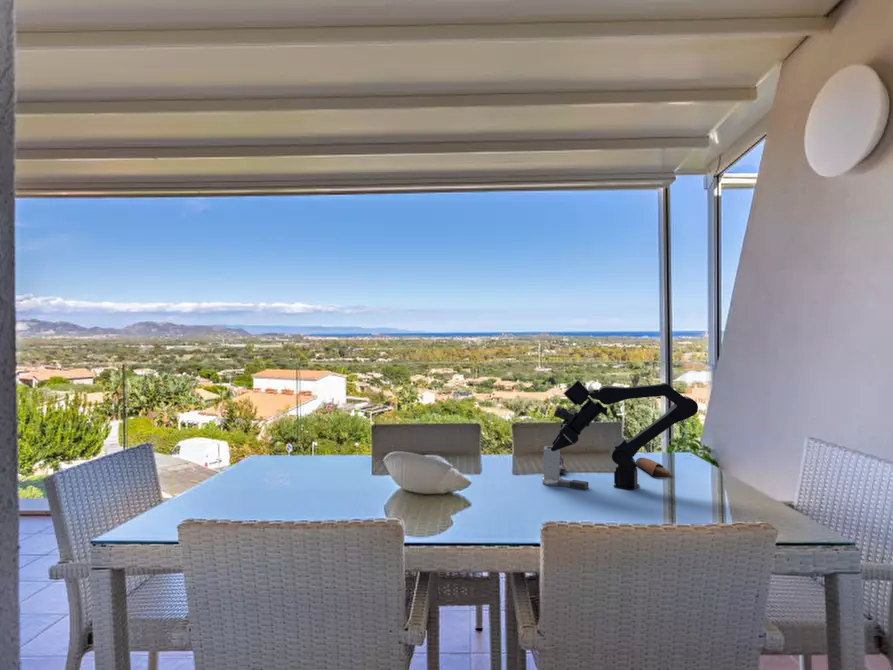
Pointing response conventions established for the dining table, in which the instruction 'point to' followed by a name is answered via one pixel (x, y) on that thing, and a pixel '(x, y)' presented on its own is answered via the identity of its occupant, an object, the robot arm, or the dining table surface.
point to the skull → (562, 465)
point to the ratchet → (566, 483)
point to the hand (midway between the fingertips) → (552, 447)
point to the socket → (551, 463)
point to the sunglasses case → (653, 468)
